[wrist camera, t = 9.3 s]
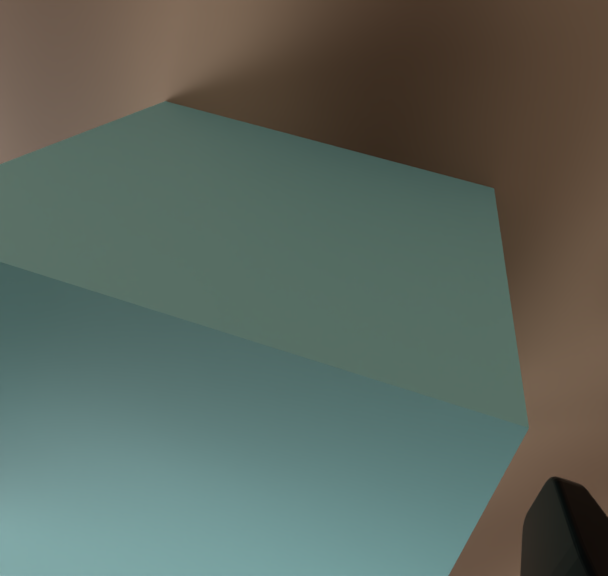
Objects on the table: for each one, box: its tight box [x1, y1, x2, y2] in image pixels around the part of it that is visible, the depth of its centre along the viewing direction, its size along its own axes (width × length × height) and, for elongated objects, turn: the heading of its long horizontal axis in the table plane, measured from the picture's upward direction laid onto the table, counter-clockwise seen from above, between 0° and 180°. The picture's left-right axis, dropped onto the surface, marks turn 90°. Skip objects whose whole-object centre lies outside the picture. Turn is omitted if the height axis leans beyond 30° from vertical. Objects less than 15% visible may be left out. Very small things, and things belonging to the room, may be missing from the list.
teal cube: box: [0, 101, 529, 576], centre depth 9 cm, size 6×6×6 cm
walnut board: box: [0, 0, 608, 576], centre depth 12 cm, size 16×16×1 cm
